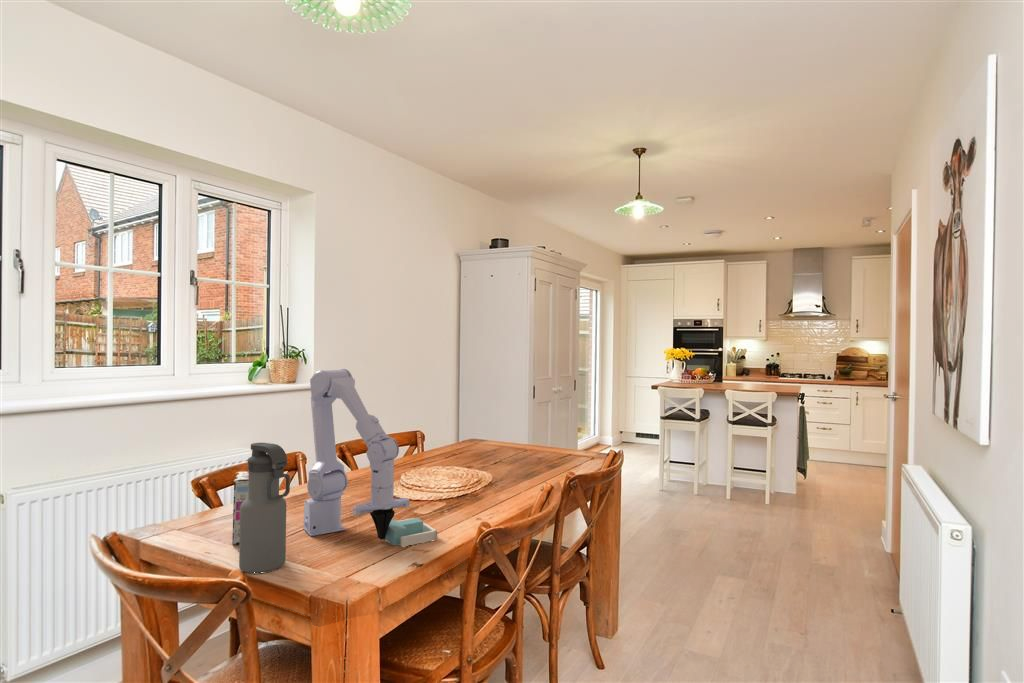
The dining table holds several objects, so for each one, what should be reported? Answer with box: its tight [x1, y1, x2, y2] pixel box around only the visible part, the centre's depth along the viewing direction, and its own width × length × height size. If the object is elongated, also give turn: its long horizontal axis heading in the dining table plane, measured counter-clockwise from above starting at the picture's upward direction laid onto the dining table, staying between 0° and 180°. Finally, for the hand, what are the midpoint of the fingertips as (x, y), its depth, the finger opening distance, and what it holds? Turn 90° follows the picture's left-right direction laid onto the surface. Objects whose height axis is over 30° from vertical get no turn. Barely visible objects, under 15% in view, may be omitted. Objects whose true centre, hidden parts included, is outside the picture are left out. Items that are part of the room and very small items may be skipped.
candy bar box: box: [231, 470, 248, 546], centre depth 149 cm, size 11×5×16 cm, turn 21°
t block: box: [384, 517, 424, 547], centre depth 151 cm, size 10×9×4 cm
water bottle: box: [238, 442, 291, 574], centre depth 131 cm, size 10×10×28 cm
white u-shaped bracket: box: [399, 517, 438, 548], centre depth 152 cm, size 10×13×2 cm
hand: (381, 538), depth 147 cm, fingers closed
